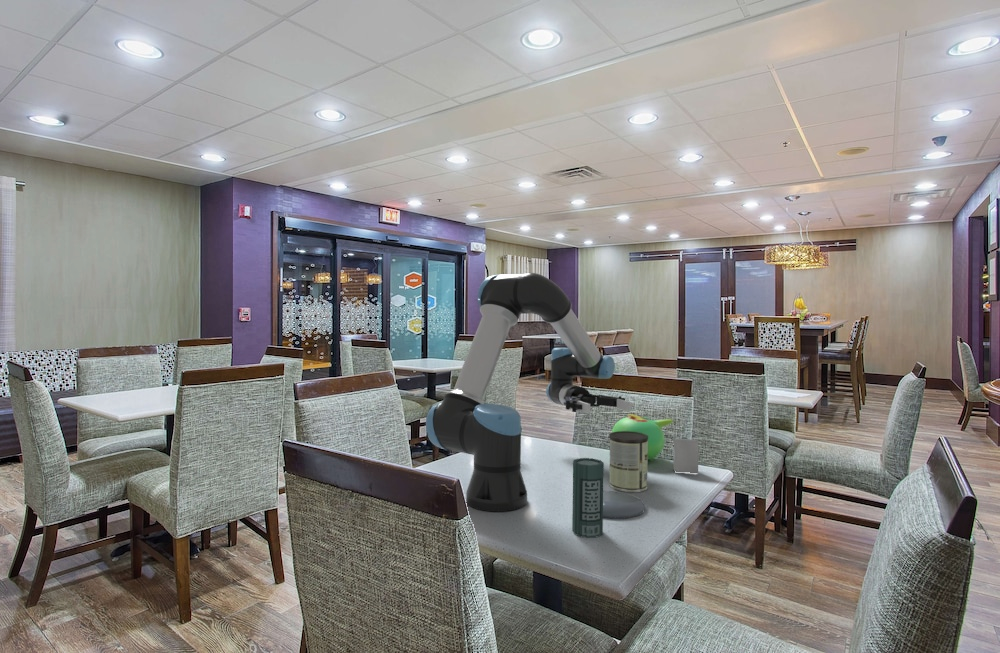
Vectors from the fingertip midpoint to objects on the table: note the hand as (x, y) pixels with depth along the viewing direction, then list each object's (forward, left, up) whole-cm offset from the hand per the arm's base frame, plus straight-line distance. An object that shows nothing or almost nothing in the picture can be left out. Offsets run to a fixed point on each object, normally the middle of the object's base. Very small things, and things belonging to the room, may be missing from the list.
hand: (609, 407), depth 154 cm
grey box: (+24, -4, -20) cm, 32 cm away
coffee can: (0, -10, -20) cm, 22 cm away
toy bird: (+20, +14, -20) cm, 32 cm away
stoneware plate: (-13, -22, -20) cm, 32 cm away
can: (-26, -34, -20) cm, 47 cm away
